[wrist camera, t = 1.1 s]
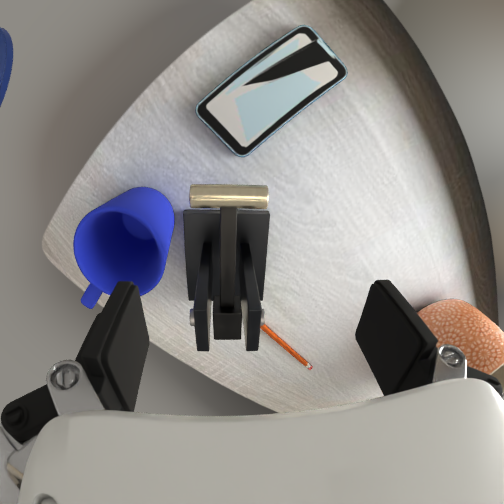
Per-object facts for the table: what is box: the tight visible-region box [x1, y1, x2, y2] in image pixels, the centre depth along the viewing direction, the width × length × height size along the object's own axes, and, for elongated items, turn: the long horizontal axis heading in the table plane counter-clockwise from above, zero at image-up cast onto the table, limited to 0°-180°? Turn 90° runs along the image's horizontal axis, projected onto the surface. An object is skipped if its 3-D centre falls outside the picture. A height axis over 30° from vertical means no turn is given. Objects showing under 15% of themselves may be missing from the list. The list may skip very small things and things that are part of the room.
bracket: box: [183, 210, 270, 351], centre depth 27 cm, size 11×9×13 cm
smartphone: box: [196, 25, 348, 157], centre depth 24 cm, size 7×1×15 cm
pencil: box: [241, 307, 312, 370], centre depth 39 cm, size 1×18×1 cm, turn 39°
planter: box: [417, 299, 504, 392], centre depth 34 cm, size 21×21×19 cm
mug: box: [73, 187, 174, 309], centre depth 25 cm, size 8×12×10 cm
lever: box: [189, 184, 269, 340], centre depth 20 cm, size 12×5×2 cm, turn 177°
